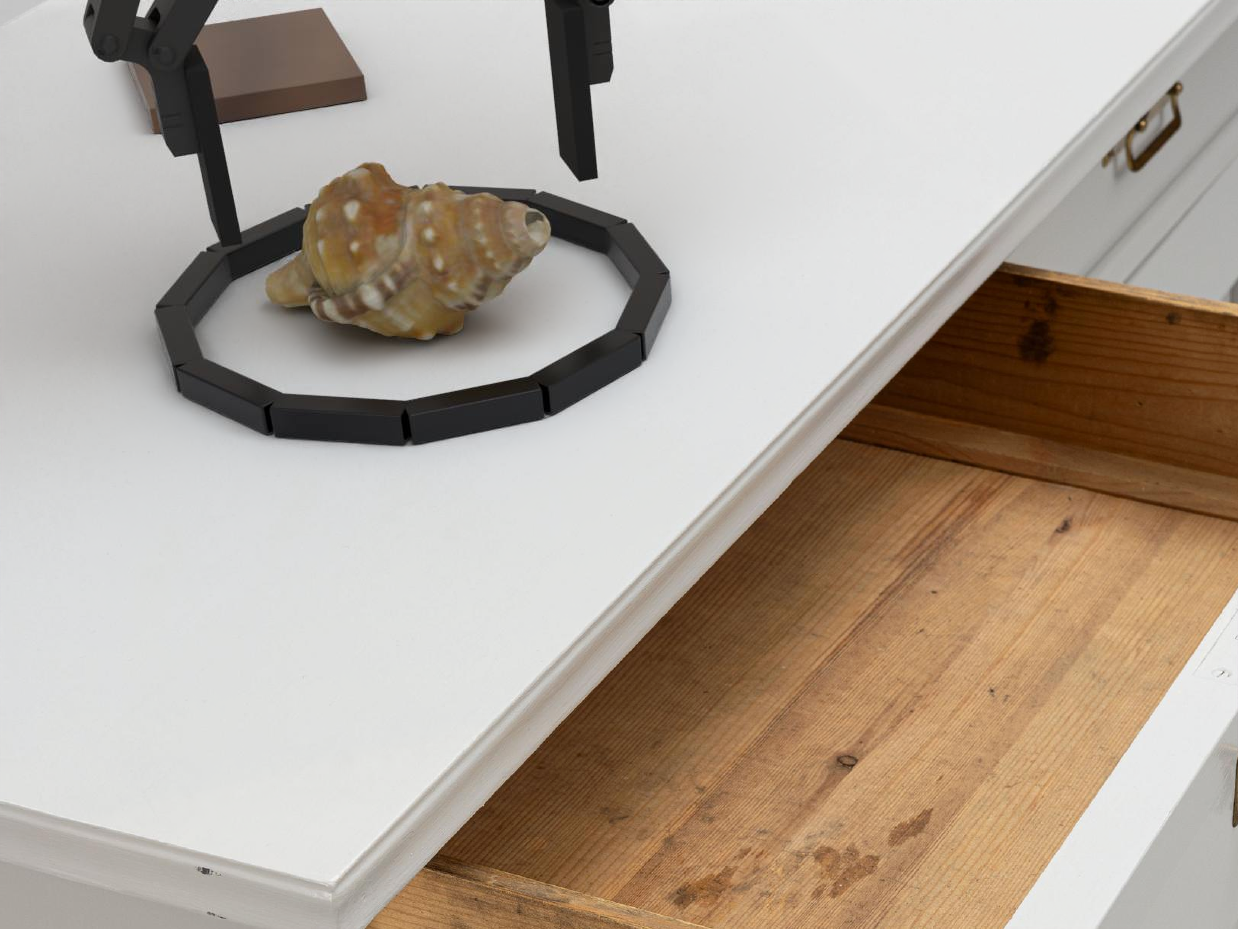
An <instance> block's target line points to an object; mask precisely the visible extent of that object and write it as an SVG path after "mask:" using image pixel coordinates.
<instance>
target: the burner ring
mask: <svg viewBox="0 0 1238 929" xmlns="http://www.w3.org/2000/svg"><path fill="white" fill-rule="evenodd" d="M428 185H429V184H424V185H423V187H422V188H420V187H419V185H417V184H415V185H409V186H408V187H409V188H412V189H424V188H425V187H426V186H428ZM446 185H447V184H446ZM447 186H448V187H449V188H450V189H452V190H460V191H462V192H464V193H465V194H466V195H473V194H477V193H482V192H484V193H490V194H493V195H495V196H496V197H498V198H500V199H501V200H503V201H504V202H507V201H515V202H519V203H523V204H525V205H527V206H528V207H529V208H532V209H537V210H538V211H540V212H541V213H543V214H544V215H545V216H546V218H547V219H548V221H549V223H550V227H551V232H550V236H554V237H556V238H560V239H562V240H565V241H568V242H571V243H574V244H577V245H579V246H582V247H585V248H587V249H591V250H594V251H595V252H599V253H602V254H605V255H607V256H608V257H609V258H610V260H611V261H612V262H613V264H614V265H615V266H616V268H617V269H618V271H619V272H620V273H621V275H622V276H623V277H624V279H625V281H627V283H628V284H629V286H630V287H631V289H632V291H631V293H630V295H629V298H628V300H627V302H626V304H625V305H624V308H623V310H622V313H621V315H620V317H619V319H618V321H617V323H616V325H615V327H614V328H613V329H611V330H610V331H608V332H606V333H604V334H602V335H600V336H599V337H597V338H595V339H593V340H591V341H589V342H587V343H586V344H584V345H583V346H582V345H581V346H580V347H579V348H577V349H575V350H573V351H572V352H569V353H568V354H566V355H564V356H562V357H560V358H558V359H557V360H555V361H553V362H551V363H549V364H548V365H546V366H544V367H543V368H540V369H539V370H537V371H535V372H534V373H532V374H530V375H528V376H522V377H518V378H517V377H516V378H513V379H507V380H502V381H498V382H492V383H487V384H482V385H478V386H471V387H468V388H462V389H457V390H451V391H447V392H442V393H437V394H432V395H427V396H422V397H416V398H412V399H406V400H403V399H402V400H400V399H386V398H371V397H370V398H367V397H352V396H351V397H350V396H337V395H336V396H335V395H333V396H332V395H317V394H304V393H303V394H302V393H286V392H282V391H280V390H277V389H275V388H272V387H270V386H269V385H267V384H264V383H262V382H259V381H257V380H255V379H253V378H250V377H249V376H246V375H244V374H242V373H240V372H237V371H234V370H233V369H230V368H228V367H226V366H223V365H221V364H220V363H216V362H215V361H213V360H210V359H208V358H206V357H205V356H204V354H203V351H202V349H201V348H202V347H201V345H200V343H199V340H198V337H197V335H196V332H195V327H196V326H197V324H198V323H199V322H200V321H201V319H202V318H203V317H204V316H205V314H206V313H207V312H208V311H209V310H210V308H211V307H212V306H213V305H214V303H215V302H216V301H217V299H218V298H219V297H220V296H221V294H222V293H223V292H224V290H225V289H226V288H227V287H228V286H229V284H231V282H232V281H233V280H235V279H237V278H240V277H241V276H244V275H246V274H248V273H251V272H252V271H255V270H257V269H259V268H261V267H263V266H265V265H267V264H270V263H272V262H274V261H277V260H278V259H280V258H283V257H285V256H287V255H289V254H291V253H294V252H296V251H298V250H300V249H302V246H303V226H304V223H305V221H306V219H307V217H308V213H309V210H310V207H311V204H312V202H311V203H306V204H304V206H303V208H302V207H299V206H295V207H293V208H291V209H289V210H286V211H284V212H282V213H280V214H278V215H276V216H274V217H271V218H269V219H266V220H264V221H262V222H260V223H257V224H256V225H253V226H251V227H249V228H246V229H244V230H242V231H240V232H241V237H242V243H243V244H238V245H233V246H227V247H222V246H221V243H220V241H218V242H216V243H213V244H210V245H208V246H206V247H205V250H201V251H200V252H199V253H198V254H197V255H195V257H194V259H193V260H192V261H191V262H190V263H189V264H188V266H187V267H186V268H185V269H184V271H183V272H182V273H181V274H180V275H179V277H178V278H177V279H176V280H175V282H174V283H172V285H171V286H170V287H169V288H168V290H167V291H166V292H165V293H164V294H163V296H162V297H161V298H160V299H159V301H157V302H156V304H155V309H153V314H154V319H155V323H156V328H157V332H158V336H159V340H160V342H161V345H162V349H163V352H164V354H165V355H164V356H165V358H166V360H167V364H168V367H169V370H170V372H171V376H172V379H173V382H174V384H175V388H176V391H177V392H178V393H181V395H182V396H183V397H184V398H187V399H189V400H190V401H192V402H195V403H197V404H199V405H201V406H203V407H206V408H208V409H210V410H212V411H215V412H216V413H219V414H221V415H222V416H225V417H227V418H230V419H232V420H234V421H236V422H238V423H239V424H243V425H245V426H247V427H249V428H251V429H253V430H255V431H257V432H260V433H261V434H264V435H271V434H272V433H273V434H274V437H275V438H285V439H299V440H300V439H301V440H316V441H317V440H318V441H333V442H345V443H346V442H348V443H364V444H379V445H395V446H405V445H406V443H407V441H408V440H409V439H410V441H411V443H412V444H413V445H419V444H424V443H429V442H433V441H438V440H443V439H447V438H453V437H458V436H463V435H468V434H472V433H478V432H482V431H486V430H487V431H488V430H492V429H496V428H502V427H506V426H512V425H516V424H522V423H527V422H531V421H536V420H542V419H544V418H545V414H548V415H550V416H554V415H555V414H557V413H559V412H561V411H562V410H564V409H566V408H568V407H570V406H571V405H573V404H575V403H577V402H578V401H580V400H582V399H583V398H585V397H586V396H589V395H591V394H592V393H594V392H595V391H597V390H599V389H601V388H603V387H604V386H606V385H608V384H609V383H612V382H613V381H615V380H616V379H618V378H620V377H622V376H624V375H625V374H627V373H629V372H630V371H632V370H634V369H636V368H638V367H639V366H641V365H642V364H643V361H645V360H647V358H648V356H649V353H650V351H651V349H652V347H653V344H654V343H655V340H656V337H657V335H658V333H659V331H660V328H661V326H662V324H663V323H664V319H665V317H666V315H667V313H668V311H669V308H670V305H671V304H672V300H673V298H672V297H673V296H672V282H671V281H672V280H671V273H670V272H671V271H670V269H669V268H668V267H667V265H666V264H665V263H664V262H663V260H662V259H661V258H660V257H659V255H658V254H657V252H656V251H655V250H654V249H653V248H652V246H651V245H650V244H649V242H648V241H647V239H645V237H644V236H643V235H642V233H641V232H640V231H639V229H638V228H637V227H636V225H635V224H634V222H629V221H628V219H626V218H624V217H621V216H618V215H615V214H612V213H610V212H606V211H602V210H601V209H598V208H594V207H592V206H590V205H589V206H588V205H585V204H582V203H580V202H577V201H574V200H572V199H568V198H566V197H563V196H560V195H556V194H554V193H551V192H548V191H544V190H541V191H538V192H537V189H535V188H517V187H516V188H515V187H513V188H512V187H493V186H491V187H489V186H471V185H470V186H469V185H447Z"/></svg>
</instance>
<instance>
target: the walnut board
mask: <svg viewBox="0 0 1238 929" xmlns="http://www.w3.org/2000/svg"><path fill="white" fill-rule="evenodd" d="M195 44H196V45H197V47H198V49H199V51H200V53H201V55H202V57H203V59H204V61H205V64H206V66H207V68H208V70H209V75H210V80H211V86H212V91H213V96H214V101H215V106H216V111H217V116H218V121H219V124H222V123H228V122H229V123H230V122H235V121H240V120H247V119H253V118H254V119H255V118H259V117H266V116H273V115H278V114H284V113H290V112H297V111H303V110H309V109H315V108H321V107H322V108H323V107H327V106H334V105H339V104H340V105H341V104H346V103H352V102H360V101H364V100H368V93H367V86H366V80H365V75H364V73H363V72H362V70H361V68H360V67H359V65H358V63H357V62H356V60H355V58H354V57H353V55H352V54H351V52H350V51H349V49H348V47H347V46H346V44H345V43H344V41H343V39H342V38H341V36H340V34H339V32H338V31H337V30H336V28H335V26H334V25H333V23H332V22H331V20H330V17H328V15H327V13H326V12H325V10H324V9H323V7H314V8H307V9H302V10H296V11H287V12H283V13H282V12H281V13H276V14H269V15H263V16H254V17H248V18H242V19H236V20H228V21H221V22H216V23H215V22H214V23H208V24H205V25H204V26H203V28H202V30H201V31H200V33H199V35H198V37H197V38H196V40H195V42H194V44H193V45H195ZM126 64H127V67H128V69H129V71H130V74H131V76H132V80H133V82H134V84H135V87H136V90H137V92H138V95H139V97H140V99H141V102H142V105H143V108H144V109H145V112H146V116H147V117H148V120H149V123H150V125H151V128H152V131H153V133H154V134H162V133H161V131H160V126H159V122H158V117H157V112H156V108H155V103H154V98H153V94H152V89H151V84H150V80H149V75H148V71H147V70H146V69H145V68H144V67H142V66H141V65H139V64H136V63H133V62H128V61H126Z"/></svg>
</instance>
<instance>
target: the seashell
mask: <svg viewBox="0 0 1238 929" xmlns="http://www.w3.org/2000/svg"><path fill="white" fill-rule="evenodd" d="M427 185H428V186H426V187H425V188H424V189H422V188H420V189H412V188H409V186H405V185H403V184H401V183H397V182H396V181H395V180H394V179H393V178H392V177H391V175H390V173H388V172H387V170H386V168H385V166H384V165H383V164H382V163H379V162H376V161H367V162H363V163H361V164H360V165H358V166H357V167H354V168H353V169H350V170H349V171H347V172H346V173H344V174H343V175H341V176H338V177H335V178H333V179H332V180H331V181H330V182H329V183H328V184H325V185H323V186H322V187H320V189H319V191H318V195H317V196H316V198H315V199H313V200H312V202H311V203H312V204H311V203H310V204H311V207H310V210H309V213H308V217H307V219H306V221H305V223H304V226H303V246H302V248H301V250H300V253H298V254H297V255H296V256H295V257H294V258H293V259H291V260H290V261H288V262H287V263H285V264H284V265H283V266H282V267H280V268H278V269H277V270H275V271H273V272H271V273H270V274H269V275H268V277H267V278H266V279H265V287H264V291H265V294H266V296H267V298H268V299H269V300H270V301H271V302H272V303H274V304H276V305H278V306H281V307H284V308H294V307H306V306H309V307H310V309H311V311H312V313H313V314H314V315H315V316H316V318H317V319H319V320H320V321H324V322H327V323H339V324H342V325H344V324H345V325H346V324H348V325H355V326H358V327H360V328H364V329H368V330H370V331H372V332H374V333H378V334H380V335H381V336H385V337H399V338H403V339H411V338H414V339H416V340H420V341H429V340H432V339H433V338H434V337H435V336H436V335H437V334H439V335H444V336H452V335H454V334H457V333H459V332H461V330H462V329H463V327H464V319H465V318H464V317H465V315H466V313H467V312H468V311H476V310H477V309H478V308H479V307H480V306H481V304H484V303H487V302H490V301H491V300H493V299H495V298H497V297H498V296H500V295H502V294H503V293H504V290H505V288H506V286H507V285H508V284H510V282H511V281H512V280H513V278H514V277H516V276H517V275H518V274H519V273H522V272H523V271H525V269H527V268H528V267H529V266H530V265H531V263H532V261H533V259H534V258H535V257H537V256H538V255H539V254H541V252H543V250H544V249H545V248H546V247H547V245H548V243H549V241H550V237H551V234H550V232H551V227H550V223H549V221H548V219H547V218H546V216H545V215H544V214H543V213H541V212H540V211H538V210H537V209H532V208H529V207H528V206H527V205H525V204H523V203H519V202H515V201H507V202H504V201H503V200H501V199H500V198H498V197H496V196H495V195H493V194H490V193H484V192H482V193H477V194H473V195H466V194H465V193H464V192H462V191H460V190H452V189H450V188H449V187H448V186H447V184H446V183H445V182H443V181H437V182H435V183H430V184H427Z"/></svg>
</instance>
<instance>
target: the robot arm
mask: <svg viewBox="0 0 1238 929" xmlns="http://www.w3.org/2000/svg"><path fill="white" fill-rule="evenodd" d="M543 1H544V2H543V3H544V12H545V23H546V33H547V43H548V54H549V64H550V72H551V82H552V94H553V103H554V113H555V122H556V123H555V124H556V133H557V143H558V154H559V157H560V158H561V160H562V161H563V163H564V164H565V165H566V167H567V168H568V170H569V171H570V172H571V173H572V175H573V176H574V177H575V178H576V180H577V181H578V182H579V183H580V182H586V181H591V180H597V179H599V172H598V162H597V150H596V149H597V148H596V137H595V127H594V126H595V125H594V117H593V114H594V113H593V105H592V93H591V86H595V85H599V84H604V83H610V82H611V80H612V75H613V73H614V69H615V65H614V54H613V42H612V31H611V30H612V28H611V15H610V6H611V5H612V4H614V1H615V0H543ZM218 2H219V0H153V2H152V3H151V5H150V7H149V9H148V10H147V12H146V14H145V15H144V17H143V16H138V15H137V14H138V11H139V6H140V3H141V0H87V2H86V6H85V9H84V14H83V17H82V26H83V28H84V31H85V34H86V37H87V40H88V42H89V45H90V47H91V50H92V52H93V55H95V56H96V58H97V59H98V60H100V61H102V62H105V63H115V62H118V61H122V62H127V61H128V62H133V63H136V64H139V65H141V66H142V67H144V68H145V69H146V70H147V71H148V75H149V80H150V84H151V89H152V94H153V98H154V103H155V108H156V112H157V117H158V122H159V126H160V131H161V133H160V134H161V136H162V138H163V141H164V143H165V146H166V147H167V148H168V150H169V152H170V153H171V154H172V156H173V157H174V158H180V157H185V156H191V155H197V161H198V165H199V170H200V175H201V179H202V185H203V190H204V194H205V199H206V203H207V209H208V214H209V219H210V221H211V224H212V226H213V229H214V231H215V233H216V236H217V238H218V242H220V243H221V246H222V247H227V246H233V245H238V244H243V243H242V237H241V232H242V231H241V228H240V223H239V222H240V221H239V218H238V213H237V208H236V203H235V198H234V192H233V187H232V183H231V177H230V172H229V167H228V162H227V156H226V152H225V147H224V141H223V137H222V132H221V131H222V130H221V127H220V123H219V121H218V116H217V111H216V106H215V101H214V96H213V91H212V86H211V80H210V75H209V70H208V68H207V66H206V64H205V61H204V59H203V57H202V55H201V53H200V51H199V49H198V47H197V45H196V44H195V45H193V44H194V42H195V40H196V38H197V37H198V35H199V33H200V31H201V30H202V28H203V26H204V25H206V23H207V21H208V19H209V18H210V16H211V14H212V13H213V11H214V9H215V7H216V5H217V4H218Z"/></svg>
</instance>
